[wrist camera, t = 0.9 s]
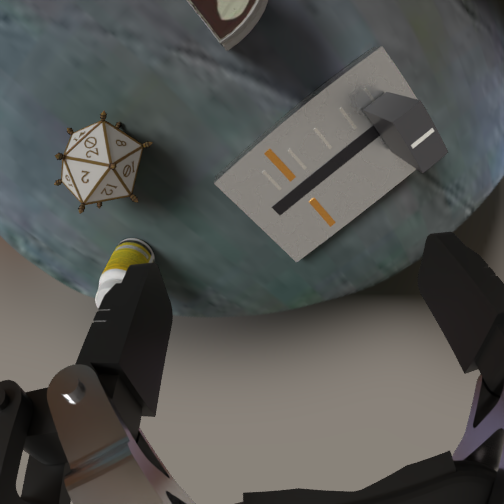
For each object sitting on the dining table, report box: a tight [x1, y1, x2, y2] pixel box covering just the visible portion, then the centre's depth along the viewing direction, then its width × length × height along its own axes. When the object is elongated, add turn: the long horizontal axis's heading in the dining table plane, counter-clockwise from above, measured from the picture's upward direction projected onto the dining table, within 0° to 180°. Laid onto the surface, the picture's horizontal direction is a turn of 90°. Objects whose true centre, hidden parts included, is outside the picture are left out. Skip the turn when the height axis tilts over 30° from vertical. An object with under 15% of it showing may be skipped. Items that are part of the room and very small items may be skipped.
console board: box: [214, 46, 417, 262], centre depth 29 cm, size 20×12×2 cm, turn 132°
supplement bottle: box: [95, 238, 155, 308], centre depth 31 cm, size 5×5×8 cm
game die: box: [54, 111, 153, 214], centre depth 25 cm, size 9×8×10 cm
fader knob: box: [363, 92, 448, 173], centre depth 23 cm, size 3×5×6 cm, turn 42°
